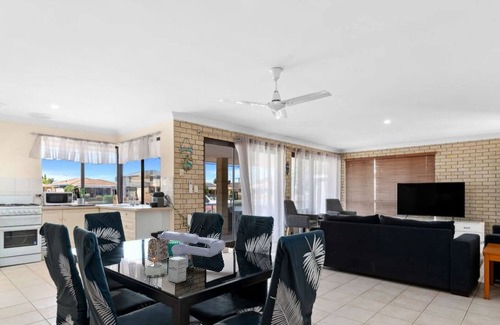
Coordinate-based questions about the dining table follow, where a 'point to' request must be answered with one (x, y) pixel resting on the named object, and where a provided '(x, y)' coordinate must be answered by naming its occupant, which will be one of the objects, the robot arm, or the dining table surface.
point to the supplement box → (177, 269)
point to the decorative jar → (158, 249)
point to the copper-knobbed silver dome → (154, 263)
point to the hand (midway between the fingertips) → (154, 233)
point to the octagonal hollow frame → (154, 271)
